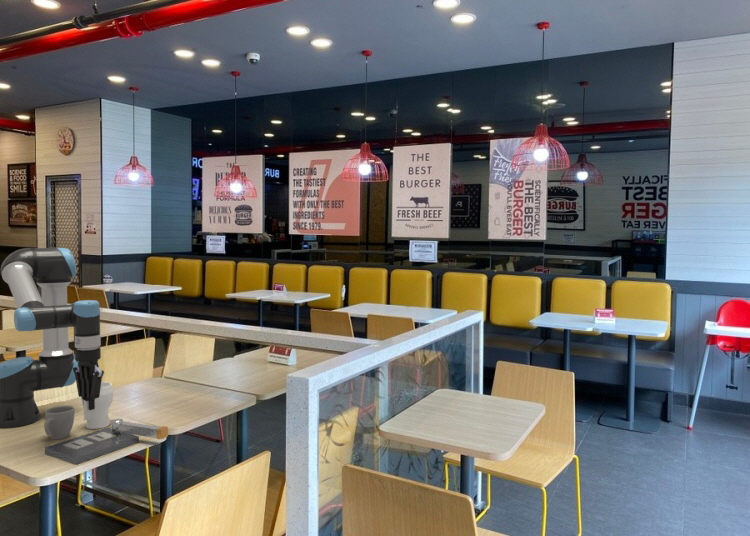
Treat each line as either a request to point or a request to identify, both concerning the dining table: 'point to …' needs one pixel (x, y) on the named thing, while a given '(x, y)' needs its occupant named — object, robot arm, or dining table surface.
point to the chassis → (91, 445)
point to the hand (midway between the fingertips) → (89, 418)
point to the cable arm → (139, 429)
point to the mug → (59, 421)
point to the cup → (101, 407)
